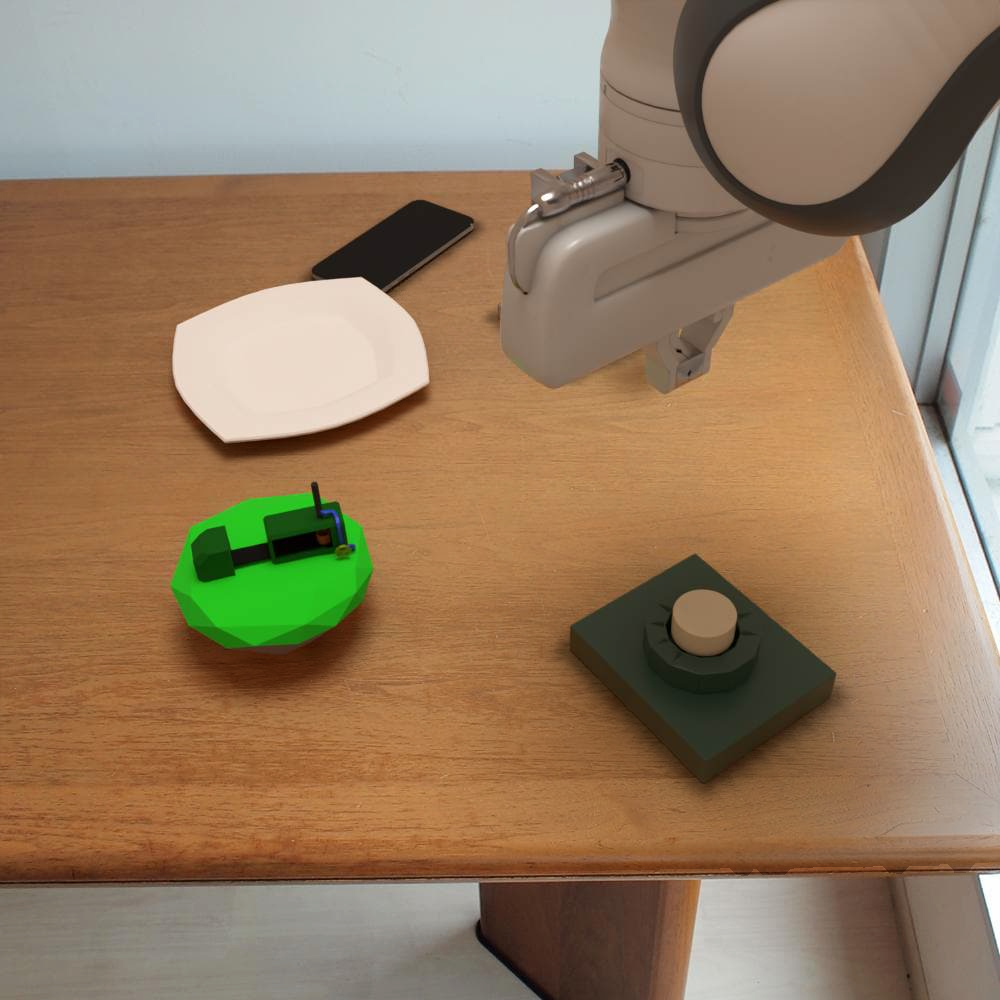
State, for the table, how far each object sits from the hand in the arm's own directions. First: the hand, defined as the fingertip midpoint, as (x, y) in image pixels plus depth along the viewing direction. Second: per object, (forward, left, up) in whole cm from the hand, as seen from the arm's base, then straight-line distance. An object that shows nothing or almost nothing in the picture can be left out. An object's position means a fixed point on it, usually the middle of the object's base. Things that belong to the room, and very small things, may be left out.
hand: (676, 378), depth 63 cm
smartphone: (+36, -30, -18) cm, 50 cm away
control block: (-4, +3, -18) cm, 19 cm away
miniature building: (+21, +10, -19) cm, 30 cm away
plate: (+34, -12, -19) cm, 41 cm away
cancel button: (-4, +3, -15) cm, 16 cm away
